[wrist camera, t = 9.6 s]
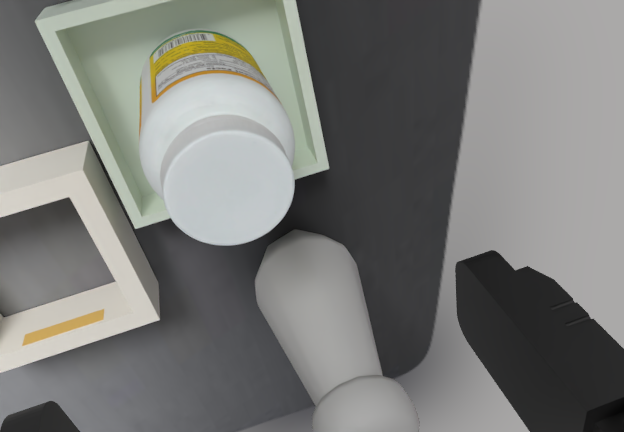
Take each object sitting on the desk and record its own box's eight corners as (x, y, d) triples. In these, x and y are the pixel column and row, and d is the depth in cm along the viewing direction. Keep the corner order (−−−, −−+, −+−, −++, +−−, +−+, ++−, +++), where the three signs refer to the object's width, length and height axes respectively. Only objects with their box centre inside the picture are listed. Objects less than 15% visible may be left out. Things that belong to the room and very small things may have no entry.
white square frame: (-115, 199, 23) (-146, 236, 21) (88, 140, 24) (82, 169, 22) (-6, 336, 28) (-20, 379, 26) (158, 283, 29) (160, 320, 27)
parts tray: (45, 7, 21) (34, 21, 19) (273, -52, 22) (286, -45, 20) (135, 202, 26) (135, 229, 24) (315, 147, 27) (329, 168, 25)
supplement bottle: (173, 0, 21) (191, 70, 14) (282, 64, 24) (350, 153, 16) (118, 112, 23) (107, 230, 15) (225, 161, 26) (263, 283, 18)
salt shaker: (228, 251, 29) (275, 460, 19) (315, 197, 29) (413, 379, 18) (280, 311, 33) (345, 516, 22) (359, 263, 32) (463, 449, 22)
